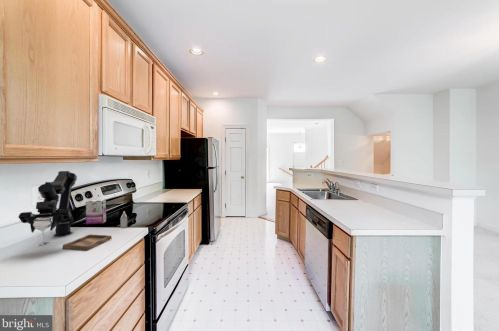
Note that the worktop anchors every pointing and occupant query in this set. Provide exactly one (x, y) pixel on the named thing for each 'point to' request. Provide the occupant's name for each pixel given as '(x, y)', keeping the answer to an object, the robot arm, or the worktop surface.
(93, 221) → the candy bar box
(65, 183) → the robot arm
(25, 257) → the worktop surface
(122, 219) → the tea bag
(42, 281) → the worktop surface
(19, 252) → the worktop surface
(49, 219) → the wineglass
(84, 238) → the tray
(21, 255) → the worktop surface
